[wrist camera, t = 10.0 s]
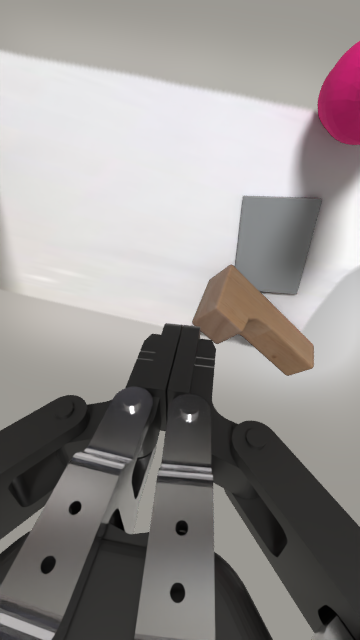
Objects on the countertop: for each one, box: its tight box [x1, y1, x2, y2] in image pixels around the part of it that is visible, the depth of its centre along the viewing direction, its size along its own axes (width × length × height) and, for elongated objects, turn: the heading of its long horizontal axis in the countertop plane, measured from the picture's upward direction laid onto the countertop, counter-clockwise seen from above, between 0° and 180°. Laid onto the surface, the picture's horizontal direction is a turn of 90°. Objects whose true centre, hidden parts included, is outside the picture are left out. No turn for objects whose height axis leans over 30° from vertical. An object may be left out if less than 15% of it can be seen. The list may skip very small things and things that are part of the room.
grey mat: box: [235, 196, 322, 294], centre depth 36 cm, size 8×12×1 cm
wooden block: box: [192, 265, 314, 376], centre depth 38 cm, size 9×4×18 cm
